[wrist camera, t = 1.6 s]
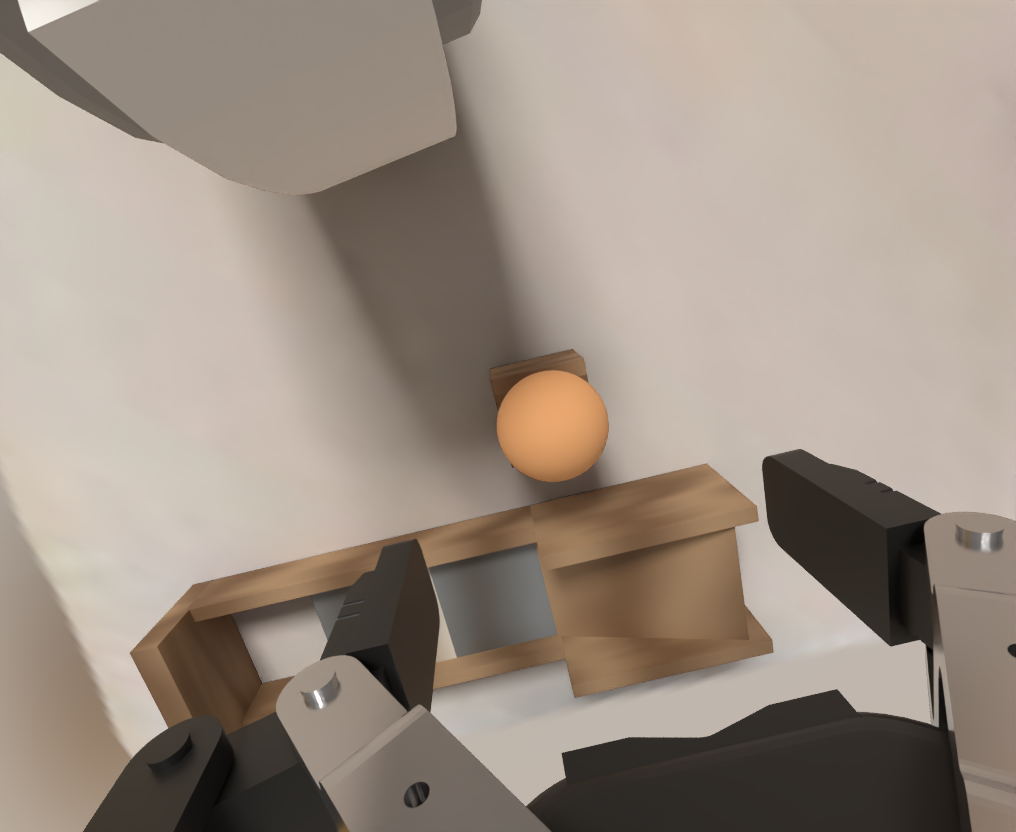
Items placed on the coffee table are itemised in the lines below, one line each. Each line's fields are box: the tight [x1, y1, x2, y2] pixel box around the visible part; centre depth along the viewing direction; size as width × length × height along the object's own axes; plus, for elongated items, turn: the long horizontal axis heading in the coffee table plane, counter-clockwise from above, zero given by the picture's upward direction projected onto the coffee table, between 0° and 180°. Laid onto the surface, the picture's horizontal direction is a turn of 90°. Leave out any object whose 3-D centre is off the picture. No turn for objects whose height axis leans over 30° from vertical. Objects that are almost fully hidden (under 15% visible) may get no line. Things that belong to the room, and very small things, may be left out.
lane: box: [130, 464, 773, 735], centre depth 25 cm, size 27×7×5 cm, turn 103°
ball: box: [497, 370, 609, 482], centre depth 21 cm, size 4×4×4 cm
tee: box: [490, 349, 588, 467], centre depth 24 cm, size 4×4×3 cm
